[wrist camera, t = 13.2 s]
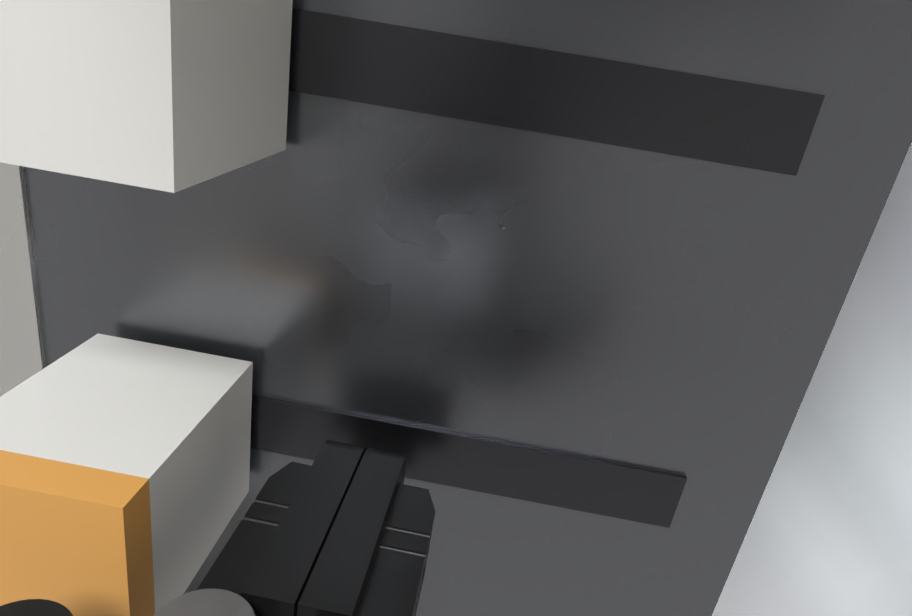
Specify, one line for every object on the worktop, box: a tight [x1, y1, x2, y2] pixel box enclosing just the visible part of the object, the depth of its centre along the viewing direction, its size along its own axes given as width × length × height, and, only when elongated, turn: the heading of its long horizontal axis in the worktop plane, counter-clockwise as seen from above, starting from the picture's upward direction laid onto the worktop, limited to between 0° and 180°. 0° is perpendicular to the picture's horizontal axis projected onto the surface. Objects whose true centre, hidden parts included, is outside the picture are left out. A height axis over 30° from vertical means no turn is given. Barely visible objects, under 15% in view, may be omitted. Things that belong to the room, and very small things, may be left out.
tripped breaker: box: [0, 334, 253, 616], centre depth 10 cm, size 3×3×4 cm
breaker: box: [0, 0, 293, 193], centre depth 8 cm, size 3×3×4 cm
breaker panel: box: [0, 0, 912, 616], centre depth 13 cm, size 16×19×2 cm
